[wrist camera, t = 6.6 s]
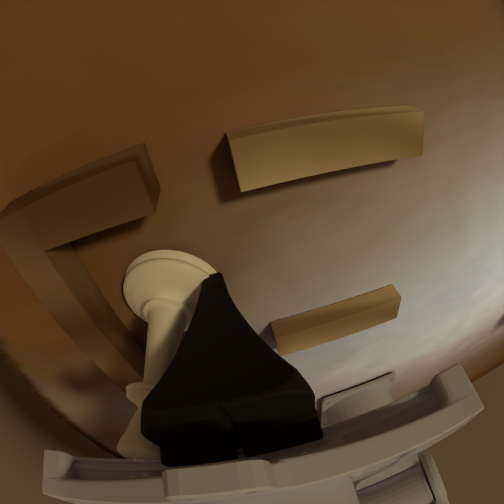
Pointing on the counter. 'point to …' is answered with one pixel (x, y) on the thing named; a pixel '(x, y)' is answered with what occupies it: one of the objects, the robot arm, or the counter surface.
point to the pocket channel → (317, 162)
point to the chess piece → (159, 327)
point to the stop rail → (67, 261)
